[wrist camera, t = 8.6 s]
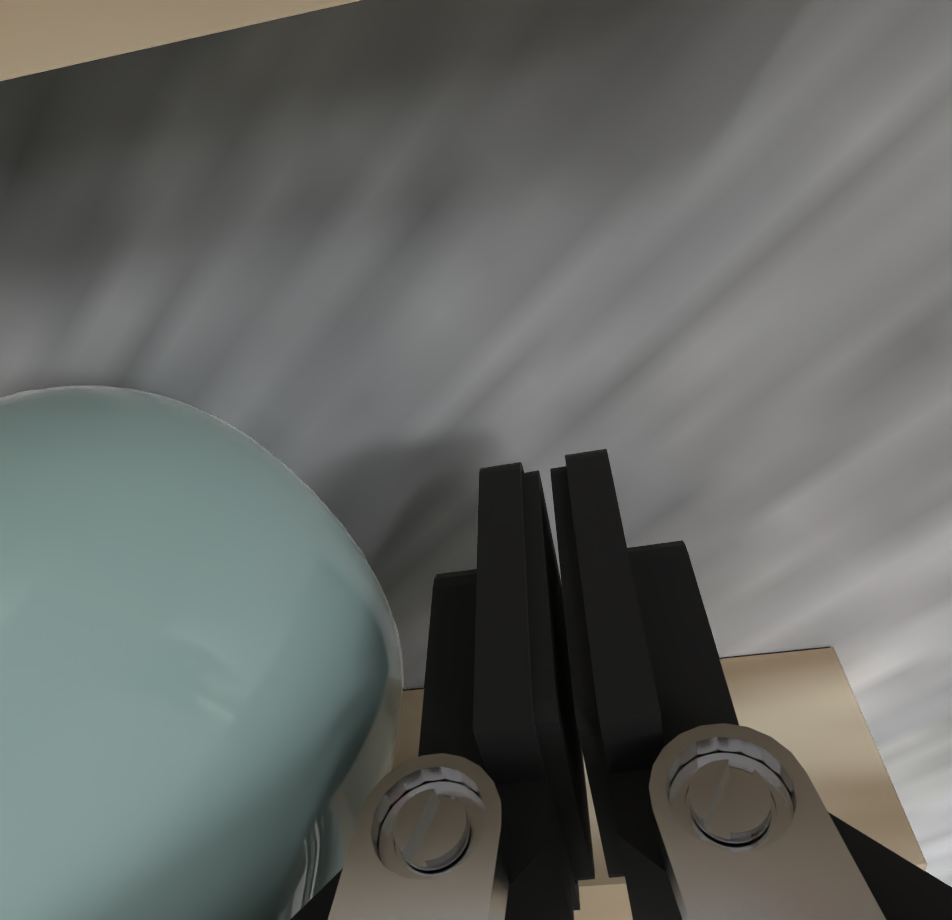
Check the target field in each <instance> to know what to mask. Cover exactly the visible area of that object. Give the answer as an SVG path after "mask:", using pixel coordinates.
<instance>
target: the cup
mask: <svg viewBox="0 0 952 920" xmlns="http://www.w3.org/2000/svg"><path fill="white" fill-rule="evenodd" d="M403 690H404V673H403V656H402V651H401V645H400V640H399V634H398V628H397V626H396V623H395V620H394V617H393V614H392V611H391V608H390V605H389V603H388V600H387V598H386V596H385V594H384V591H383V589H382V587H381V585H380V583H379V581H378V579H377V577H376V575H375V573H374V571H373V570H372V568H371V566H370V564H369V562H368V561H367V559H366V557H365V555H364V553H363V552H362V551H361V549H360V548H359V546H358V545H357V544H356V542H355V541H354V539H353V538H352V537H351V535H350V534H349V532H348V531H347V530H346V528H345V527H344V525H343V524H342V523H341V522H340V520H339V519H338V518H337V517H336V516H335V515H334V514H333V512H332V511H331V510H330V509H329V508H328V507H327V506H326V504H325V503H324V502H323V501H322V500H321V499H320V498H319V496H318V495H317V494H316V493H315V492H314V491H313V490H312V489H311V488H310V487H309V486H308V485H307V484H306V483H304V482H303V481H302V480H301V479H300V478H299V477H298V476H297V475H296V474H295V473H294V472H293V471H292V470H291V469H290V468H289V467H288V466H287V465H286V464H285V463H283V462H282V461H281V460H279V459H278V458H277V457H276V456H274V455H273V454H272V453H270V452H269V451H268V450H267V449H265V448H264V447H263V446H262V445H260V444H259V443H258V442H256V441H255V440H254V439H253V438H251V437H250V436H248V435H246V434H245V433H243V432H242V431H240V430H238V429H237V428H235V427H233V426H232V425H230V424H228V423H227V422H225V421H224V420H222V419H220V418H219V417H217V416H214V415H212V414H209V413H207V412H205V411H202V410H200V409H198V408H195V407H193V406H191V405H188V404H186V403H183V402H180V401H177V400H174V399H172V398H169V397H166V396H162V395H158V394H154V393H149V392H145V391H140V390H136V389H131V388H119V387H108V386H62V387H54V388H46V389H37V390H29V391H22V392H18V393H15V394H12V395H8V396H5V397H1V398H0V920H290V919H291V918H292V917H293V916H294V915H295V914H296V913H297V912H298V911H299V910H300V909H301V908H302V907H303V906H304V905H306V904H307V903H308V902H309V901H310V900H311V899H312V898H313V897H314V896H315V895H316V894H317V893H318V892H319V891H320V890H321V889H322V888H323V887H324V886H325V885H326V884H327V883H328V882H329V881H330V880H331V879H332V878H333V877H334V876H335V875H336V874H337V873H338V872H339V871H340V870H341V869H342V868H343V866H344V863H345V860H346V856H347V853H348V850H349V846H350V843H351V839H352V836H353V833H354V829H355V826H356V823H357V819H358V816H359V814H360V812H361V809H362V807H363V805H364V803H365V801H366V798H367V796H368V795H369V793H370V792H371V791H372V790H373V789H374V787H375V786H376V785H377V784H378V782H379V781H380V780H381V779H382V778H383V777H384V776H385V775H387V774H388V773H389V772H391V770H392V765H393V761H394V756H395V751H396V747H397V742H398V738H399V733H400V729H401V724H402V714H403Z"/></svg>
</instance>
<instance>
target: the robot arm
mask: <svg viewBox="0 0 952 920" xmlns="http://www.w3.org/2000/svg"><path fill="white" fill-rule="evenodd" d="M565 459H566V466H565V467H559V468H552V469H551V481H552V491H553V501H554V511H555V521H556V531H557V541H558V551H559V562H560V572H561V580H560V575H559V569H558V564H557V559H556V554H555V549H554V544H553V539H552V534H551V529H550V523H549V518H548V513H547V508H546V503H545V498H544V493H543V488H542V483H541V478H540V473H539V471H533V472H526V473H524V470H523V466H522V463H521V462H519V463H513V464H506V465H500V466H493V467H487V468H481V469H480V473H479V505H478V544H477V569H473V570H466V571H459V572H451V573H444V574H437V575H436V577H435V579H434V585H433V594H432V605H431V616H430V628H429V639H428V650H427V662H426V673H425V684H424V696H423V707H422V718H421V730H420V741H419V752H418V757H417V758H415V759H412V760H410V761H407V762H405V763H402V764H400V765H399V766H398V767H396V768H395V769H393V770H392V771H391V772H389V773H388V774H387V775H385V776H384V777H383V778H382V779H381V780H380V781H379V782H378V784H377V785H376V786H375V787H374V789H373V790H372V791H371V792H370V793H369V795H368V796H367V798H366V801H365V803H364V805H363V807H362V809H361V812H360V814H359V816H358V819H357V823H356V826H355V829H354V833H353V836H352V839H351V843H350V846H349V850H348V853H347V856H346V860H345V863H344V866H343V868H342V869H341V870H340V871H339V872H338V873H337V874H336V875H335V876H334V877H333V878H332V879H331V880H330V881H329V882H328V883H327V884H326V885H325V886H324V887H323V888H322V889H321V890H320V891H319V892H318V893H317V894H316V895H315V896H314V897H313V898H312V899H311V900H310V901H309V902H308V903H307V904H306V905H304V906H303V907H302V908H301V909H300V910H299V911H298V912H297V913H296V914H295V915H294V916H293V917H292V918H291V919H290V920H574V910H581V909H580V897H579V886H578V881H579V880H591V879H595V868H594V858H593V848H592V838H591V829H590V819H589V809H588V800H587V790H586V781H585V771H584V762H585V767H586V772H587V776H588V781H589V786H590V791H591V795H592V800H593V805H594V810H595V814H596V819H597V824H598V829H599V833H600V838H601V843H602V848H603V852H604V857H605V862H606V867H607V871H608V876H609V878H613V877H625V880H626V886H627V891H628V896H629V902H630V907H631V912H632V918H633V920H952V887H950V886H948V885H947V884H945V883H944V882H942V881H940V880H939V879H937V878H935V877H934V876H932V875H930V874H929V873H927V872H926V871H924V870H922V869H921V868H919V867H917V866H916V865H914V864H913V863H911V862H909V861H908V860H906V859H904V858H903V857H901V856H899V855H898V854H896V853H895V852H893V851H891V850H890V849H888V848H886V847H885V846H883V845H882V844H880V843H878V842H877V841H875V840H873V839H872V838H870V837H868V836H867V835H865V834H864V833H862V832H860V831H859V830H857V829H855V828H854V827H852V826H850V825H849V824H847V823H846V822H844V821H842V820H841V819H839V818H837V817H836V816H834V815H833V814H831V813H829V812H828V811H827V809H826V808H825V806H824V804H823V802H822V800H821V798H820V797H819V795H818V793H817V791H816V789H815V787H814V785H813V784H812V782H811V780H810V778H809V776H808V774H807V772H806V771H805V770H804V768H803V767H802V766H801V764H800V763H799V762H798V760H797V759H796V758H795V756H794V755H793V754H792V752H790V751H789V750H788V749H786V748H785V747H784V746H783V745H781V744H780V743H779V742H777V741H776V740H775V739H773V738H772V737H770V736H768V735H766V734H763V733H761V732H759V731H756V730H754V729H752V728H749V727H745V726H739V723H738V719H737V716H736V713H735V709H734V706H733V702H732V699H731V696H730V692H729V689H728V686H727V682H726V679H725V676H724V672H723V669H722V665H721V662H720V659H719V655H718V652H717V649H716V645H715V642H714V639H713V635H712V632H711V628H710V625H709V622H708V618H707V615H706V612H705V608H704V605H703V602H702V598H701V595H700V591H699V588H698V585H697V581H696V578H695V575H694V571H693V568H692V565H691V561H690V558H689V554H688V551H687V549H686V546H685V544H684V542H683V541H676V542H669V543H661V544H654V545H647V546H640V547H632V548H627V546H626V541H625V536H624V531H623V526H622V521H621V517H620V512H619V507H618V502H617V497H616V492H615V487H614V483H613V478H612V473H611V468H610V463H609V458H608V453H607V450H606V449H603V450H596V451H590V452H583V453H577V454H570V455H565ZM561 582H562V585H561ZM583 757H584V761H583Z"/></svg>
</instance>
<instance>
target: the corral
mask: <svg viewBox="0 0 952 920" xmlns="http://www.w3.org/2000/svg"><path fill="white" fill-rule="evenodd" d="M356 1H361V0H0V81H4V80H8V79H13V78H17V77H22V76H26V75H31V74H35V73H39V72H44V71H48V70H53V69H57V68H62V67H66V66H71V65H75V64H80V63H84V62H89V61H93V60H97V59H102V58H106V57H111V56H115V55H120V54H124V53H129V52H133V51H138V50H142V49H147V48H151V47H155V46H160V45H164V44H169V43H173V42H178V41H182V40H187V39H191V38H196V37H200V36H205V35H209V34H213V33H218V32H222V31H227V30H231V29H236V28H240V27H245V26H249V25H254V24H258V23H263V22H267V21H271V20H276V19H280V18H285V17H289V16H294V15H298V14H303V13H307V12H312V11H316V10H320V9H325V8H329V7H334V6H338V5H343V4H347V3H352V2H356ZM720 662H721V665H722V669H723V672H724V676H725V679H726V682H727V686H728V689H729V692H730V696H731V699H732V702H733V706H734V709H735V713H736V716H737V719H738V723H739V726H745V727H749V728H752V729H754V730H756V731H759V732H761V733H763V734H766V735H768V736H770V737H772V738H773V739H775V740H776V741H777V742H779V743H780V744H781V745H783V746H784V747H785V748H786V749H788V750H789V751H790V752H792V754H793V755H794V756H795V758H796V759H797V760H798V762H799V763H800V764H801V766H802V767H803V768H804V770H805V771H806V772H807V774H808V776H809V778H810V780H811V782H812V784H813V785H814V787H815V789H816V791H817V793H818V795H819V797H820V798H821V800H822V802H823V804H824V806H825V808H826V809H827V811H828V812H829V813H831V814H833V815H834V816H836V817H837V818H839V819H841V820H842V821H844V822H846V823H847V824H849V825H850V826H852V827H854V828H855V829H857V830H859V831H860V832H862V833H864V834H865V835H867V836H868V837H870V838H872V839H873V840H875V841H877V842H878V843H880V844H882V845H883V846H885V847H886V848H888V849H890V850H891V851H893V852H895V853H896V854H898V855H899V856H901V857H903V858H904V859H906V860H908V861H909V862H911V863H913V864H914V865H916V866H917V867H919V868H921V869H922V870H924V871H925V869H926V866H927V863H926V860H925V858H924V856H923V854H922V851H921V849H920V847H919V844H918V842H917V840H916V837H915V835H914V833H913V830H912V828H911V826H910V823H909V821H908V819H907V816H906V814H905V812H904V810H903V807H902V805H901V803H900V800H899V798H898V796H897V793H896V791H895V789H894V786H893V784H892V782H891V779H890V777H889V775H888V773H887V770H886V768H885V766H884V763H883V761H882V759H881V756H880V754H879V752H878V749H877V747H876V745H875V742H874V740H873V738H872V735H871V733H870V731H869V729H868V726H867V724H866V722H865V719H864V717H863V715H862V712H861V710H860V708H859V705H858V703H857V701H856V698H855V696H854V694H853V691H852V689H851V687H850V685H849V682H848V680H847V678H846V675H845V673H844V671H843V668H842V666H841V664H840V661H839V659H838V657H837V654H836V652H835V650H834V648H823V649H813V650H803V651H793V652H784V653H774V654H764V655H754V656H744V657H734V658H724V659H720ZM423 696H424V689H419V690H409V691H403V714H402V724H401V729H400V733H399V738H398V742H397V747H396V751H395V756H394V761H393V765H392V770H393V769H395V768H396V767H398V766H399V765H400V764H402V763H405V762H407V761H410V760H412V759H415V758H417V757H418V752H419V741H420V730H421V718H422V707H423ZM583 761H584V757H583ZM392 770H391V771H392ZM584 771H585V781H586V790H587V800H588V809H589V819H590V829H591V838H592V848H593V858H594V868H595V879H591V880H579V881H578V886H579V897H580V909H581V910H574V920H633V918H632V912H631V907H630V902H629V896H628V891H627V886H626V880H625V877H613V878H609V876H608V871H607V867H606V862H605V857H604V852H603V848H602V843H601V838H600V833H599V829H598V824H597V819H596V814H595V810H594V805H593V800H592V795H591V791H590V786H589V781H588V776H587V772H586V767H585V762H584Z"/></svg>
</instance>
